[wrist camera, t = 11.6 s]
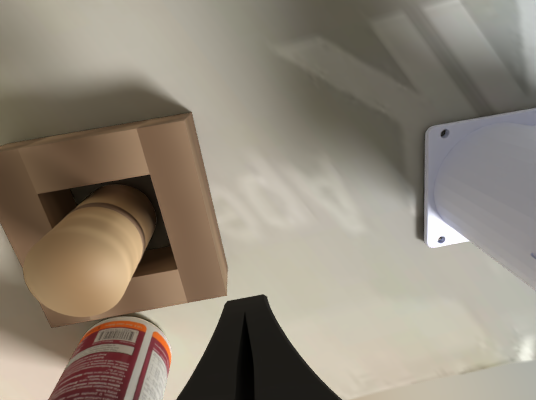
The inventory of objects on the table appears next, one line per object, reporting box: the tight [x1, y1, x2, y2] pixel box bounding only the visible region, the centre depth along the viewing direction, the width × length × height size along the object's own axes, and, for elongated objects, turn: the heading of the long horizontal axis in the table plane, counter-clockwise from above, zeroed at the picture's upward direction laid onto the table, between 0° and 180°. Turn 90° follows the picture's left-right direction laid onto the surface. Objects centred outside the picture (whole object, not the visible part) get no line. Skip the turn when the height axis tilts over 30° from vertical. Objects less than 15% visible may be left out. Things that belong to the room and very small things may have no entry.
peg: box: [23, 184, 156, 317], centre depth 18 cm, size 4×4×7 cm
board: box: [0, 112, 228, 328], centre depth 20 cm, size 10×10×3 cm
